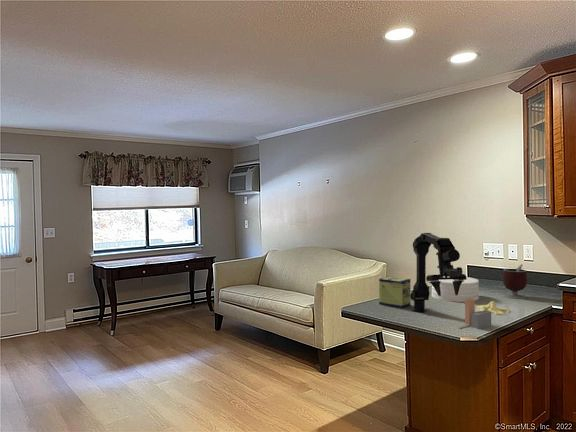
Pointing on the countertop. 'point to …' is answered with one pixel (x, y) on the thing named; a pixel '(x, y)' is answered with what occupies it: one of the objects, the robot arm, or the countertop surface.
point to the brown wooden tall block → (469, 310)
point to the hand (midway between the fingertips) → (448, 295)
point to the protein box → (394, 292)
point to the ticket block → (479, 320)
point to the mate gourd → (515, 281)
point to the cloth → (493, 308)
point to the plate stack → (465, 291)
